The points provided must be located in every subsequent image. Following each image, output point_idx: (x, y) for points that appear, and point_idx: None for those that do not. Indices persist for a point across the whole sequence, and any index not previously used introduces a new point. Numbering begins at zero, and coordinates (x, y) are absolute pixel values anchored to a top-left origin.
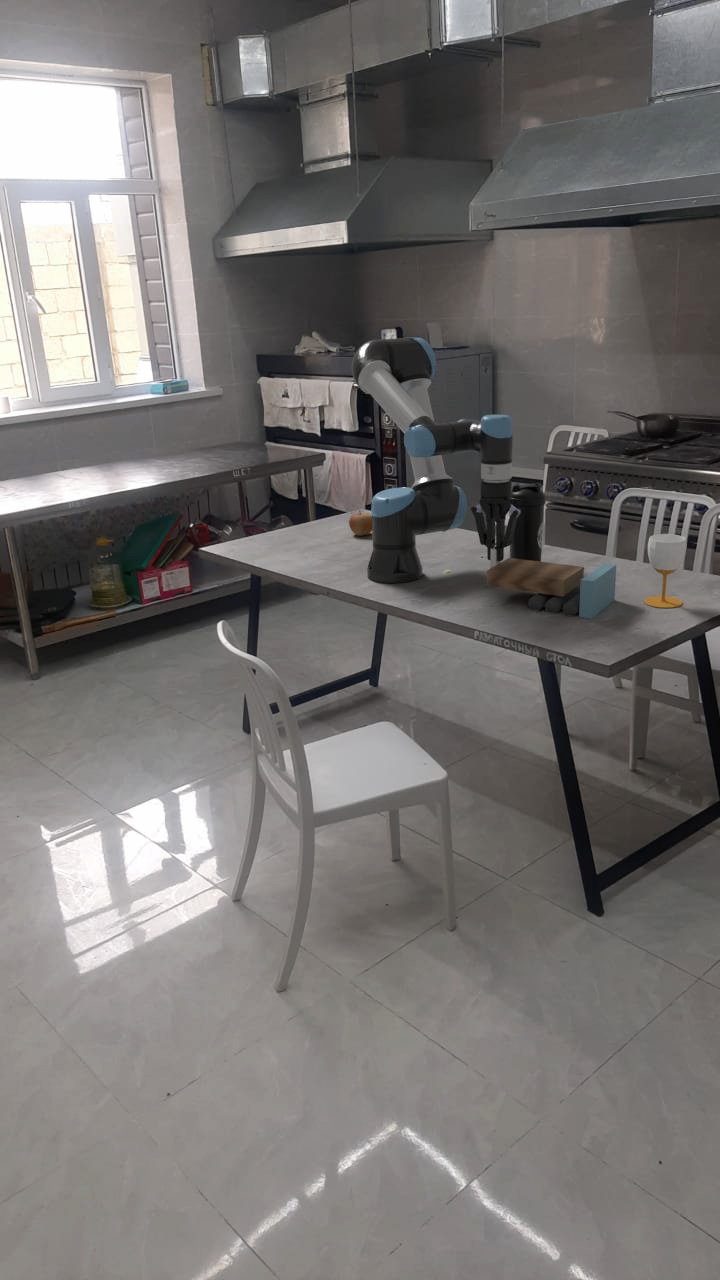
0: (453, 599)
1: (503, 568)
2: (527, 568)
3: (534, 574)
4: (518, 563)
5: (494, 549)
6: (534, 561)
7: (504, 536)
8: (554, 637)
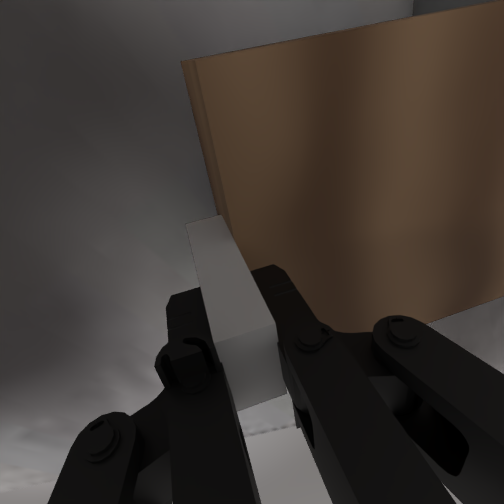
0: (121, 347)
1: (320, 311)
2: (437, 226)
3: (487, 279)
4: (351, 171)
5: (273, 396)
6: (440, 34)
7: (399, 426)
8: (483, 341)
